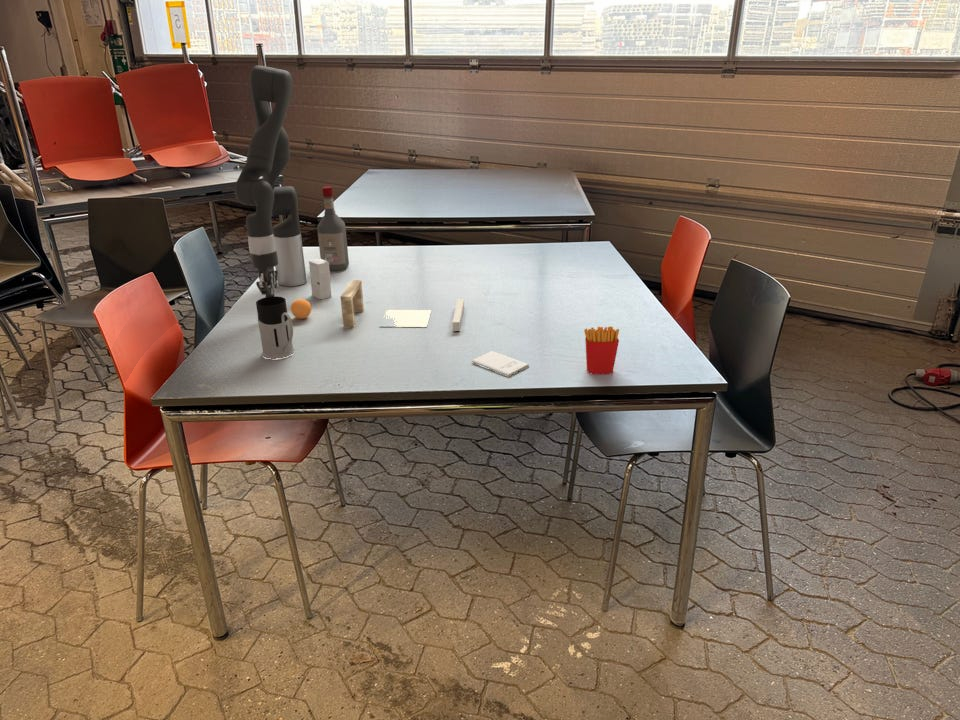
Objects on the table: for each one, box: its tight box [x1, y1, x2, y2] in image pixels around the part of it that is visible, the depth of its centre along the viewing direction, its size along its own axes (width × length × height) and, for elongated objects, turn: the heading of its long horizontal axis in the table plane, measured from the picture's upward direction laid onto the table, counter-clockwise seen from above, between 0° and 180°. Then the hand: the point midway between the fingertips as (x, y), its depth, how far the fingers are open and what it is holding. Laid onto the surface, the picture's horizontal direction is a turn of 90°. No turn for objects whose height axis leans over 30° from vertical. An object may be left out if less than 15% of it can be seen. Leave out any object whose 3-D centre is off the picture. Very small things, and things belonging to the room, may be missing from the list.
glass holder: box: [255, 295, 296, 359], centre depth 174 cm, size 9×14×15 cm, turn 43°
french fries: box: [584, 326, 620, 375], centre depth 165 cm, size 8×4×12 cm, turn 90°
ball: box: [290, 298, 312, 320], centre depth 202 cm, size 6×6×6 cm
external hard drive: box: [471, 350, 530, 378], centre depth 172 cm, size 2×8×12 cm
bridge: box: [339, 279, 365, 328], centre depth 200 cm, size 3×15×10 cm, turn 178°
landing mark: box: [383, 309, 433, 328], centre depth 202 cm, size 14×14×1 cm
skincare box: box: [308, 257, 332, 300], centre depth 219 cm, size 6×4×12 cm
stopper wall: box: [452, 298, 465, 332], centre depth 200 cm, size 2×20×3 cm, turn 177°
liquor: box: [316, 185, 350, 273], centre depth 243 cm, size 9×9×30 cm
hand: (271, 305), depth 201 cm, fingers closed
